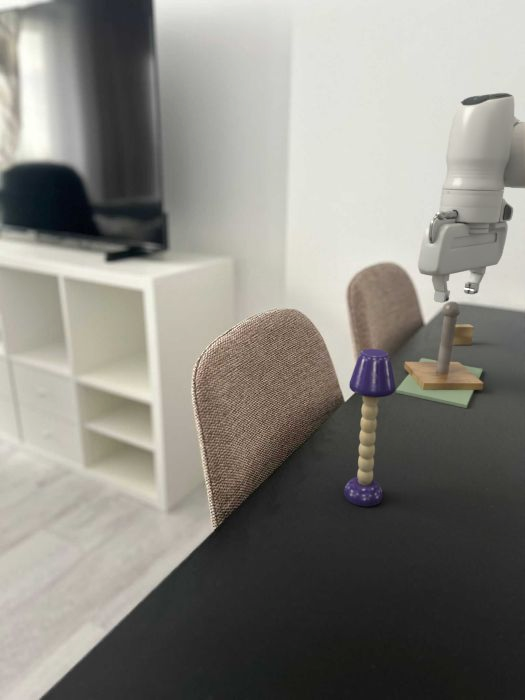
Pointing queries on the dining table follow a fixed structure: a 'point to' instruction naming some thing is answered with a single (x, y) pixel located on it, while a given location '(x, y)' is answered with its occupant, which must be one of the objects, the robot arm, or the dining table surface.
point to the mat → (442, 396)
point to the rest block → (463, 334)
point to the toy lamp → (369, 421)
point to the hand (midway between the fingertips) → (456, 297)
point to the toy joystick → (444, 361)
